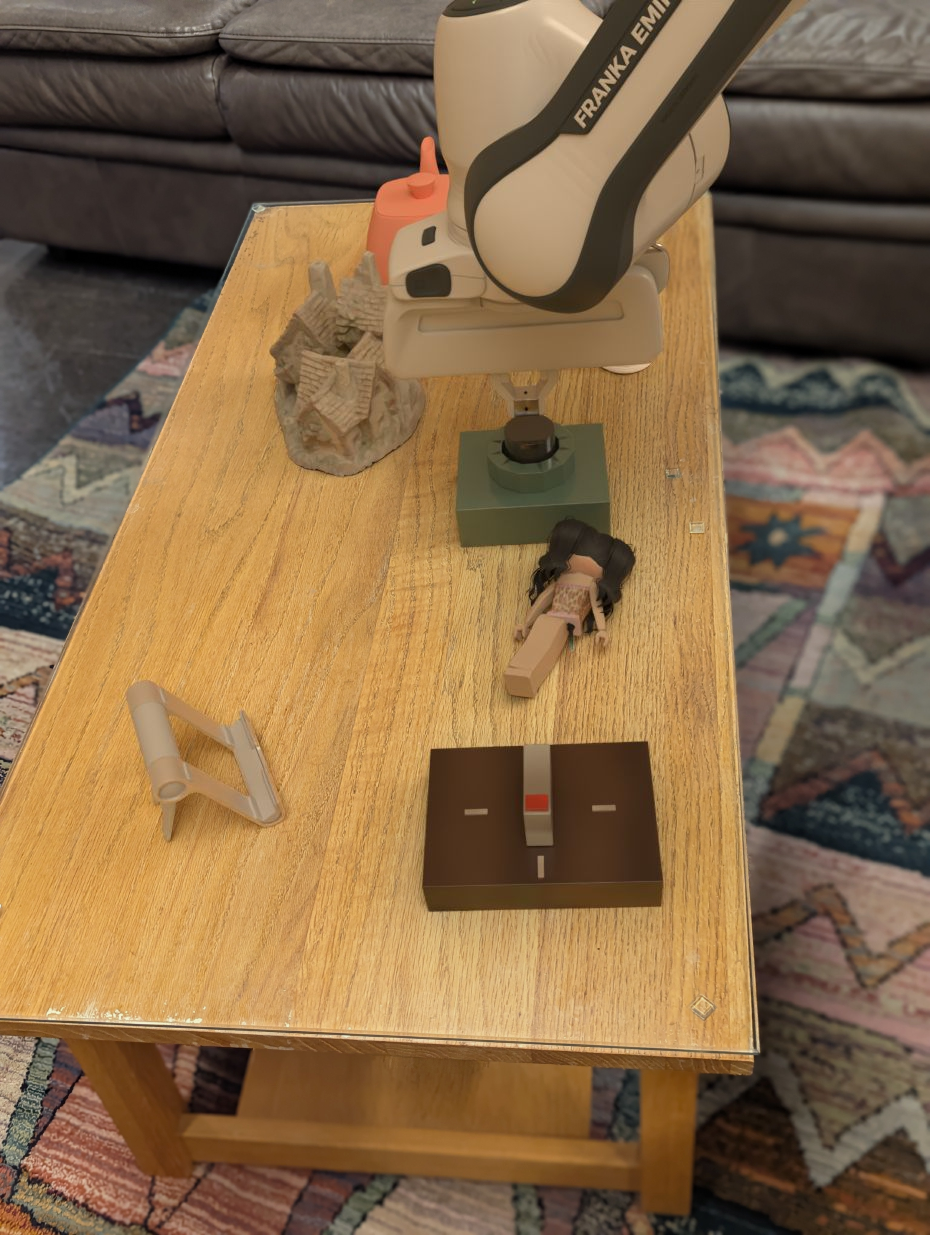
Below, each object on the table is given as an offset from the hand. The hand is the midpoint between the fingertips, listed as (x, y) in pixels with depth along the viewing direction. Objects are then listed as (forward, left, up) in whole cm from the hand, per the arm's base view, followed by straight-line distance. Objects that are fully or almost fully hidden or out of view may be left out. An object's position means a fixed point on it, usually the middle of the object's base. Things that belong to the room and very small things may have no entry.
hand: (526, 411), depth 83 cm
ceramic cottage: (+18, -14, -9) cm, 25 cm away
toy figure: (-3, +14, -10) cm, 17 cm away
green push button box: (0, 0, -9) cm, 9 cm away
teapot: (+10, -36, -9) cm, 39 cm away
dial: (0, +32, -6) cm, 33 cm away
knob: (0, 0, -4) cm, 4 cm away
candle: (-9, -20, -9) cm, 24 cm away
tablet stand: (+22, +28, -9) cm, 37 cm away
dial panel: (0, +32, -9) cm, 33 cm away
